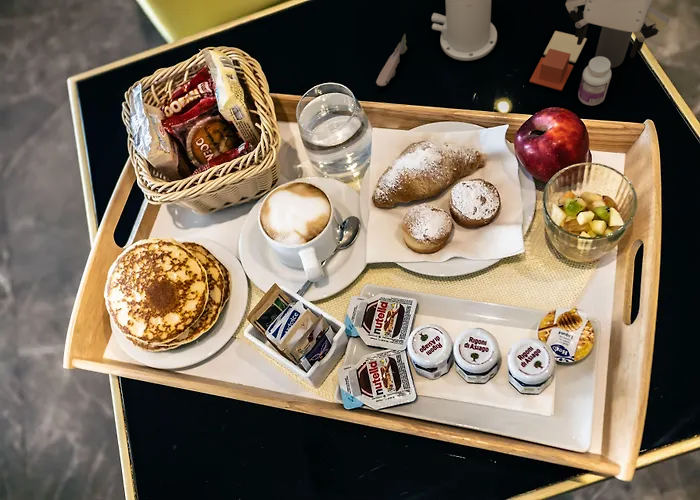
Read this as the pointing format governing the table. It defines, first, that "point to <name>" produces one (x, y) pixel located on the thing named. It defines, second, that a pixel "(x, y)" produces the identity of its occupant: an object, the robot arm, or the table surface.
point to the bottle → (613, 45)
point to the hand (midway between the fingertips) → (607, 45)
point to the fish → (391, 64)
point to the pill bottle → (595, 81)
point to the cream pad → (565, 45)
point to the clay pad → (549, 84)
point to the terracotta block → (554, 66)
